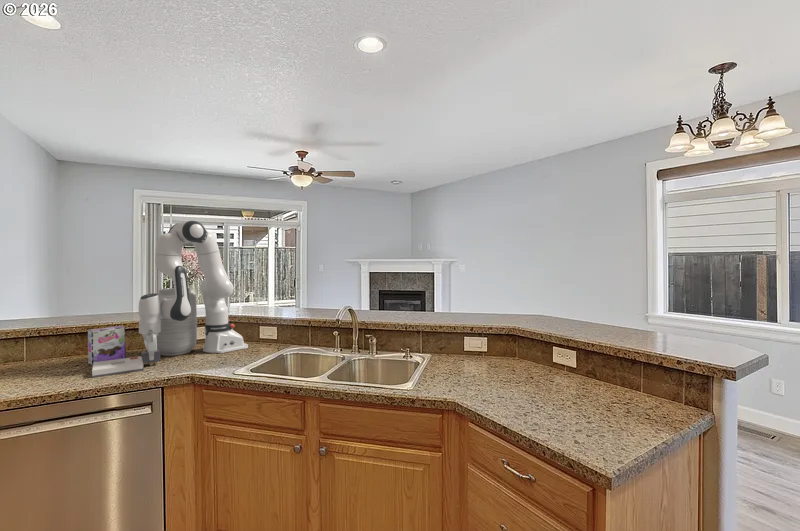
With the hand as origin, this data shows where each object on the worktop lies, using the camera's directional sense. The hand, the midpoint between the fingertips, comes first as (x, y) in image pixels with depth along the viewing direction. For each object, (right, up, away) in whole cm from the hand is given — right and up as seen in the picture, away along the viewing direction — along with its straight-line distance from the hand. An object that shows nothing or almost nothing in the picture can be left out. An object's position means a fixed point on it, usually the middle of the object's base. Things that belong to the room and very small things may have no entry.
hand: (150, 358), depth 186 cm
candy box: (-25, -3, +6) cm, 25 cm away
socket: (-10, -3, -7) cm, 13 cm away
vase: (-2, -3, +24) cm, 24 cm away
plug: (0, -3, 0) cm, 3 cm away
